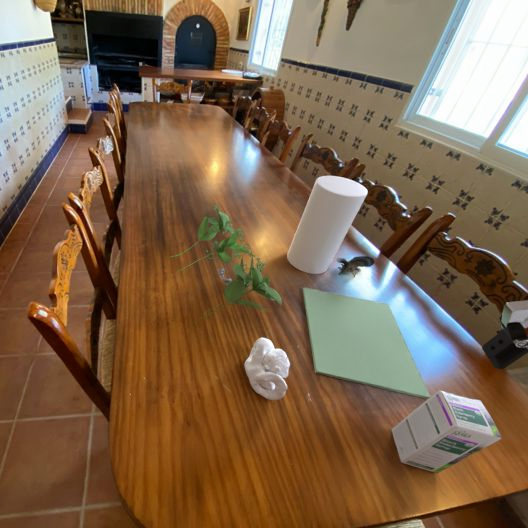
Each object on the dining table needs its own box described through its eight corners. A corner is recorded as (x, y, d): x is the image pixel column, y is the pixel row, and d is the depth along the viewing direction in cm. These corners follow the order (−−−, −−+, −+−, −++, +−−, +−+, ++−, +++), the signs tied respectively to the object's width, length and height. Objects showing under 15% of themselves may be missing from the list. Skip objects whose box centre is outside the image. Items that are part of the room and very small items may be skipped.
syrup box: (400, 463, 50) (458, 428, 41) (389, 427, 54) (440, 388, 45) (437, 474, 49) (505, 440, 40) (423, 436, 54) (481, 398, 44)
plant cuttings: (216, 367, 69) (304, 321, 64) (177, 337, 58) (279, 279, 53) (183, 269, 95) (243, 231, 90) (152, 236, 84) (218, 191, 79)
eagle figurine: (357, 284, 83) (378, 270, 86) (352, 261, 81) (373, 248, 84) (333, 280, 90) (353, 267, 93) (328, 258, 89) (349, 246, 91)
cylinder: (291, 244, 98) (320, 171, 82) (331, 257, 94) (369, 183, 78) (282, 263, 90) (312, 187, 74) (325, 279, 86) (366, 201, 70)
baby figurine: (252, 342, 67) (284, 328, 62) (275, 397, 62) (311, 387, 57) (229, 346, 61) (262, 331, 56) (252, 407, 56) (291, 397, 51)
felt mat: (386, 305, 79) (388, 303, 78) (428, 399, 59) (430, 397, 59) (302, 289, 82) (303, 287, 81) (315, 373, 62) (316, 371, 61)
